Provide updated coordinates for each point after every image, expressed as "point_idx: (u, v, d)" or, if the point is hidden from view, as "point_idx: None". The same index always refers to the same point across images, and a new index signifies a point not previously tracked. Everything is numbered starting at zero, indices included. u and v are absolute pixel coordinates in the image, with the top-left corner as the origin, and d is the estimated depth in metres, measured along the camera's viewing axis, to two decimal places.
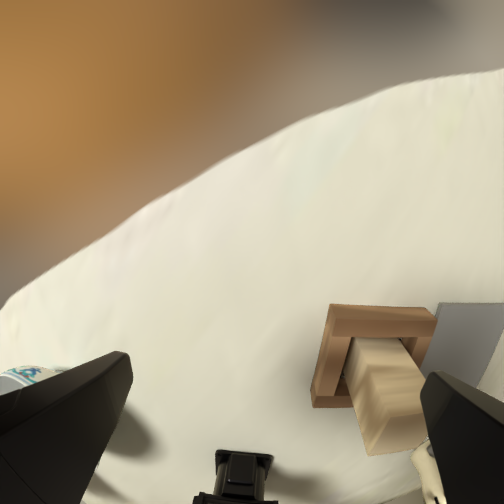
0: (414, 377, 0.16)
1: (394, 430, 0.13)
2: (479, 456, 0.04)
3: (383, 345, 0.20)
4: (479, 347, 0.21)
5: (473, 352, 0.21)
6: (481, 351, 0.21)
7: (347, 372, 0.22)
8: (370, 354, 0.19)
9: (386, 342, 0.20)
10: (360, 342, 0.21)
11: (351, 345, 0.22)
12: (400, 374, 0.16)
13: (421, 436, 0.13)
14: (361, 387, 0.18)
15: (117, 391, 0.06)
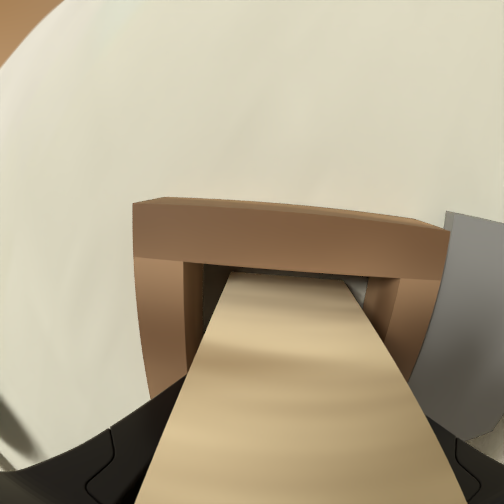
0: (377, 408, 0.04)
1: None
2: None
3: (295, 301, 0.08)
4: None
5: None
6: None
7: None
8: (239, 315, 0.07)
9: (311, 295, 0.08)
10: (232, 289, 0.09)
11: None
12: (317, 390, 0.04)
13: None
14: None
15: None
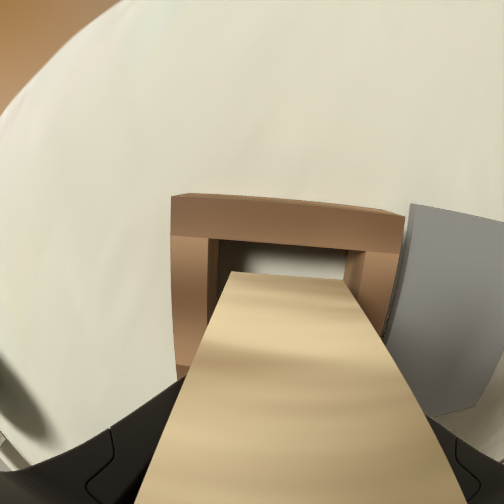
0: (377, 408, 0.04)
1: None
2: None
3: (295, 301, 0.08)
4: (495, 302, 0.12)
5: (486, 311, 0.13)
6: (498, 310, 0.12)
7: None
8: (238, 315, 0.07)
9: (310, 295, 0.08)
10: (232, 289, 0.09)
11: None
12: (317, 390, 0.04)
13: None
14: None
15: None
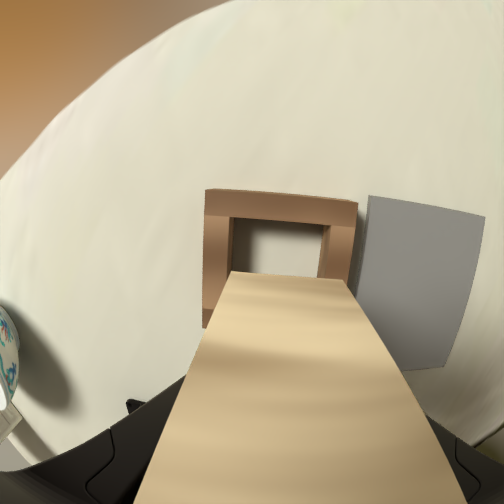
0: (377, 408, 0.04)
1: None
2: None
3: (295, 300, 0.08)
4: (447, 272, 0.18)
5: (439, 279, 0.19)
6: (451, 279, 0.19)
7: None
8: (238, 315, 0.07)
9: (310, 295, 0.08)
10: (232, 288, 0.09)
11: None
12: (317, 389, 0.04)
13: None
14: None
15: None
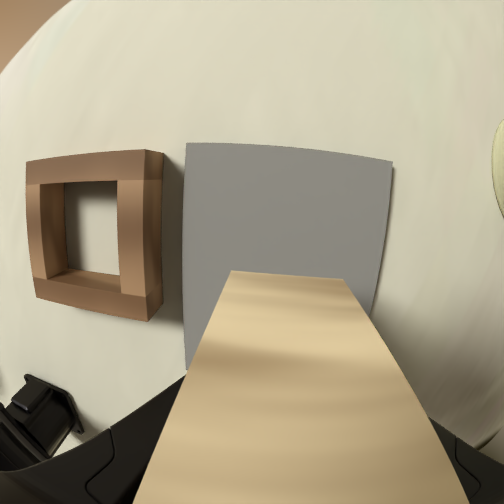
0: (378, 407, 0.04)
1: None
2: None
3: (296, 300, 0.08)
4: (327, 244, 0.15)
5: (313, 253, 0.15)
6: (336, 254, 0.15)
7: None
8: (238, 314, 0.07)
9: (311, 294, 0.08)
10: (232, 288, 0.09)
11: None
12: (318, 389, 0.04)
13: None
14: None
15: None
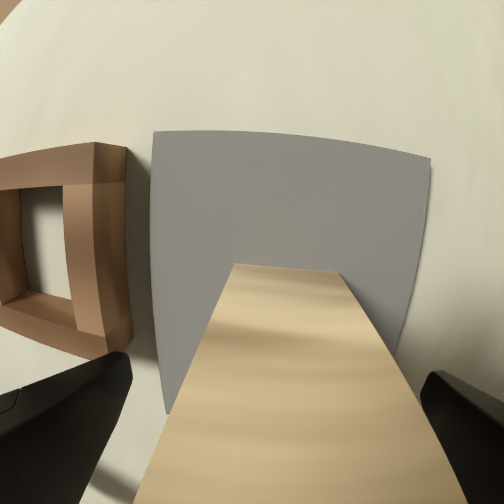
0: (365, 377, 0.05)
1: None
2: (479, 456, 0.04)
3: (294, 289, 0.09)
4: (344, 269, 0.11)
5: None
6: (356, 283, 0.11)
7: None
8: (242, 300, 0.08)
9: (308, 284, 0.09)
10: (236, 278, 0.09)
11: None
12: (312, 361, 0.05)
13: None
14: None
15: (116, 391, 0.06)
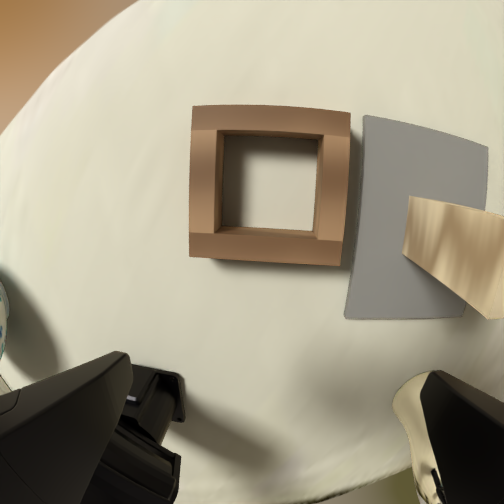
0: (503, 216, 0.10)
1: None
2: (479, 456, 0.04)
3: (450, 203, 0.15)
4: (456, 202, 0.16)
5: None
6: None
7: (412, 247, 0.16)
8: (441, 202, 0.14)
9: (451, 203, 0.15)
10: (423, 198, 0.15)
11: (410, 212, 0.17)
12: (486, 212, 0.11)
13: None
14: (442, 241, 0.13)
15: (117, 391, 0.06)
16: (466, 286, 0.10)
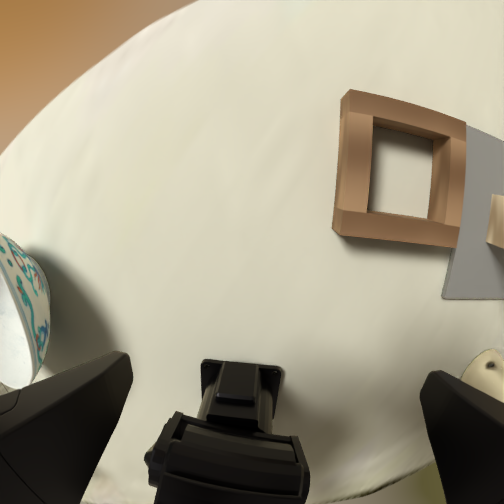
0: None
1: None
2: (479, 456, 0.04)
3: None
4: None
5: None
6: None
7: (497, 236, 0.16)
8: None
9: None
10: None
11: (494, 207, 0.16)
12: None
13: None
14: None
15: (117, 391, 0.06)
16: None
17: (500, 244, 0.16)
